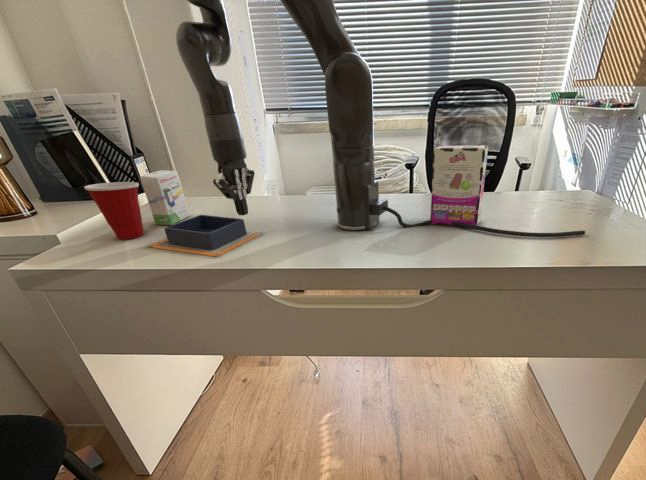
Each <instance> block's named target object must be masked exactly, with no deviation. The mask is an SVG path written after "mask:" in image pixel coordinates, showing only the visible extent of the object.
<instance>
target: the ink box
mask: <svg viewBox="0 0 646 480" xmlns="http://www.w3.org/2000/svg"><path fill="white" fill-rule="evenodd" d="M139 179H140V182H141V184H142V187H143V190H144V194H145V197H146V199H147V202H148V206H149V208H150V212H151V215H152V218H153V220H154V221H153V222H154V224H155V225H162V226H164V225H165V226H171V225H174V224H177V223H179V222H181V221H183V219H187V218H188V217H189V216H191V215H190V211H189V209H188V205H187V202H186V201H187V200H186V197H185V194H184V191H183V188H182V183H181V180H180V177H179V173H178V171H177V170H165V169H164V170H157V171H153V172H149V173H147V174H143V175H140V177H139Z"/></svg>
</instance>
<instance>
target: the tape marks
mask: <svg viewBox="0 0 646 480" xmlns="http://www.w3.org/2000/svg"><path fill="white" fill-rule="evenodd" d="M260 235H261V234H260V233H255V234H252V235H251V236H249V237H247V238H244V239H243V240H240V241H239V242H237V243H235V244H233V245H230V246H229V247H227V248H225V249H223V250H221V251H219V252H217V253H213V252H206V251H199V250H193V249H192V250H191V249H185V248H178V247H170V246H163V244H165V243H167V242H168V239H167V238H165V239H164V240H162V241H159V242H156V243H154V244H151V245H148V248H152V249H153V248H154V249H160V250H167V251H174V252H181V253H188V254H195V255H201V256H208V257H214V258H215V257H216V258H218V257H219V256H221V255H223V254H226V253H228V252H230V251H231V250H233V249H236V248H237V247H239V246H241V245H243V244H245V243H247V242H249V241H251V240H253V239H255V238H257V237H258V236H260Z"/></svg>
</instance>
